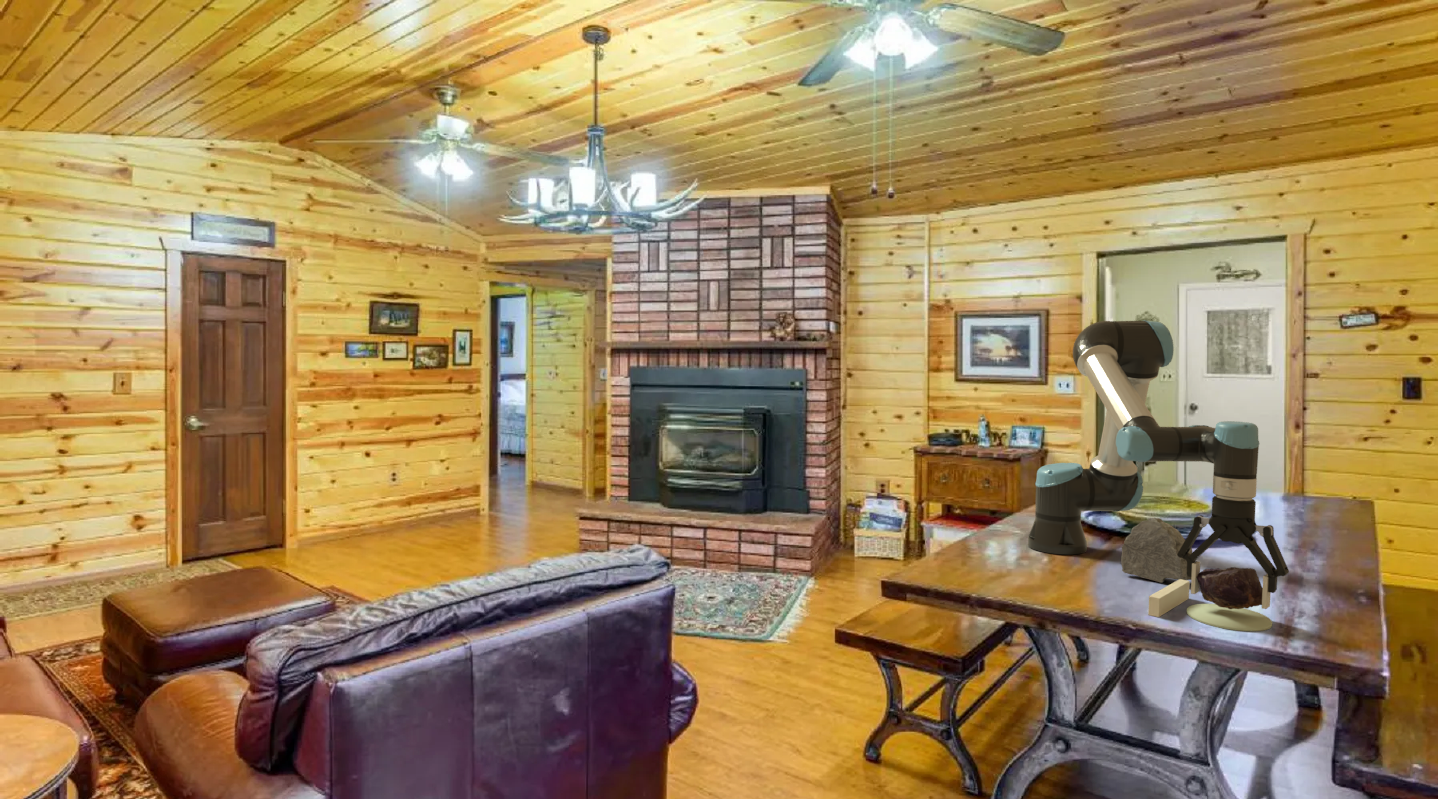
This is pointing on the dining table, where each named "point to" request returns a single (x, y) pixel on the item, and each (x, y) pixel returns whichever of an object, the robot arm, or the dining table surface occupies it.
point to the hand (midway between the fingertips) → (1229, 599)
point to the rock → (1231, 587)
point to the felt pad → (1229, 617)
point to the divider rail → (1168, 598)
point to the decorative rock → (1154, 552)
